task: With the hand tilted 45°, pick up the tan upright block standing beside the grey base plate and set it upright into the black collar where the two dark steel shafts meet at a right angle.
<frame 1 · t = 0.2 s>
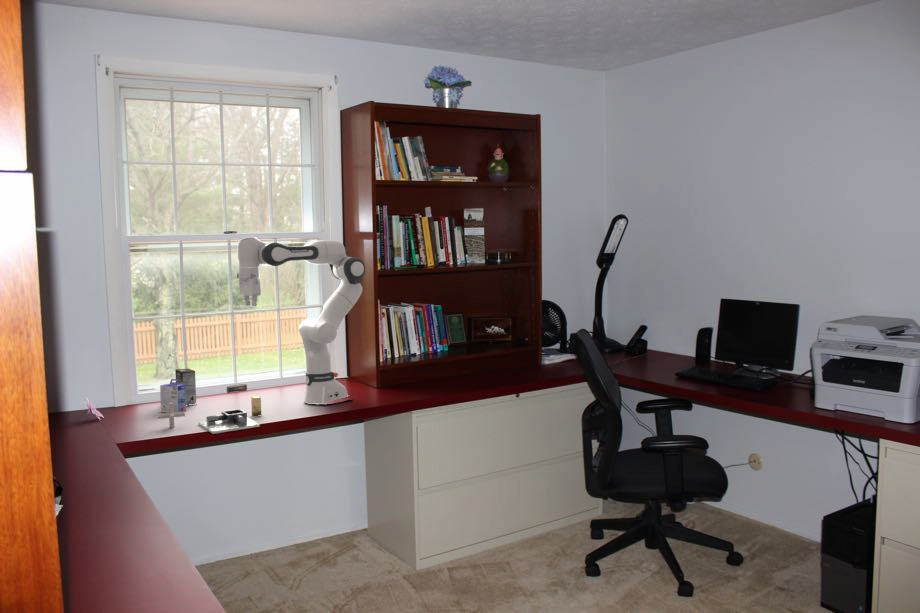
hand: (251, 305, 323), 47 cm above the table, tool pointing down, fingers open, 8 cm apart
tan upright block: (256, 415, 320), on the table
ink cartridge box: (173, 412, 329), on the table
pipe connector: (171, 427, 300), on the table
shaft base: (234, 422, 307), on the table
coffee box: (186, 404, 344), on the table
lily: (93, 421, 314), on the table
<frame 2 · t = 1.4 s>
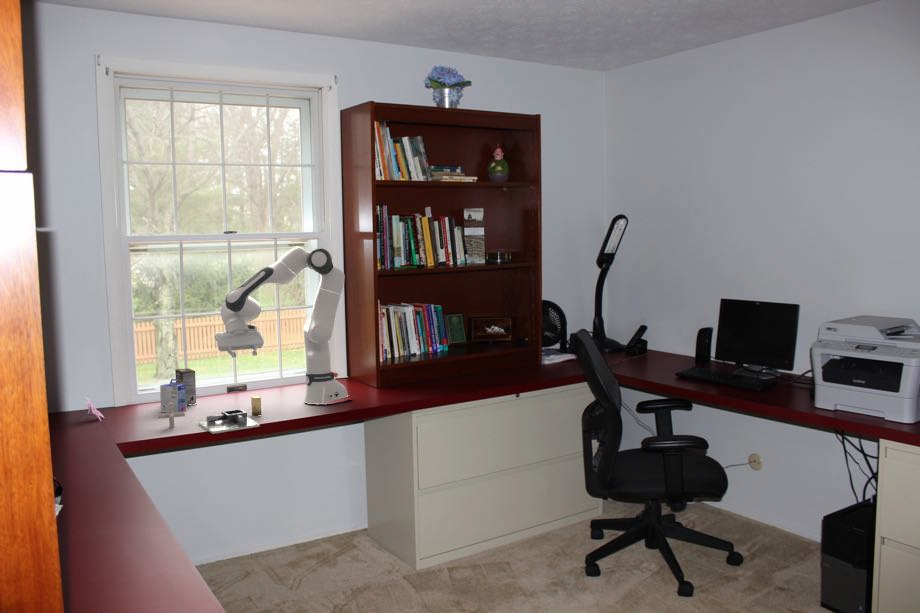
hand: (244, 355, 328), 25 cm above the table, tool tilted 45°, fingers open, 8 cm apart
nothing on the table moved.
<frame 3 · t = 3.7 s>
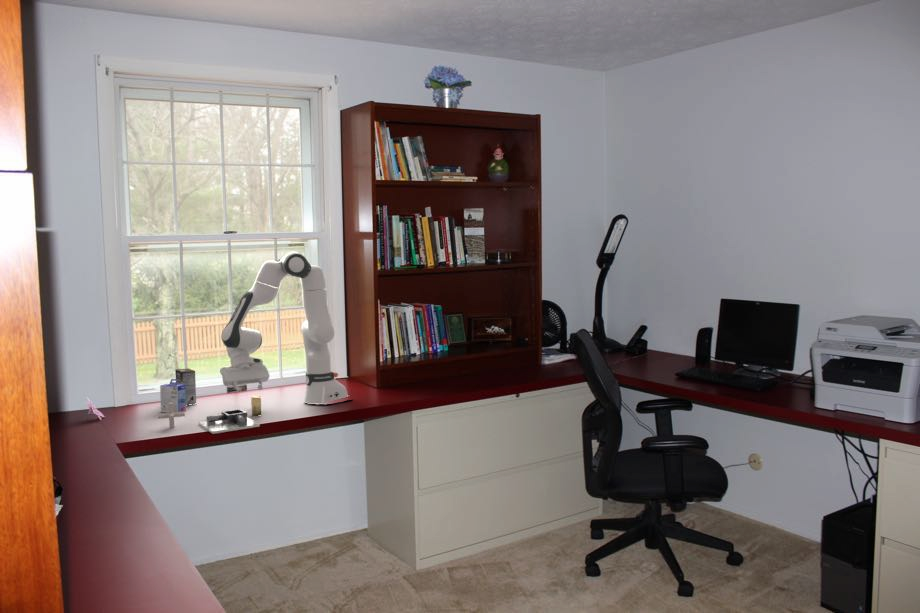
hand: (250, 390, 324), 10 cm above the table, tool tilted 45°, fingers open, 8 cm apart
nothing on the table moved.
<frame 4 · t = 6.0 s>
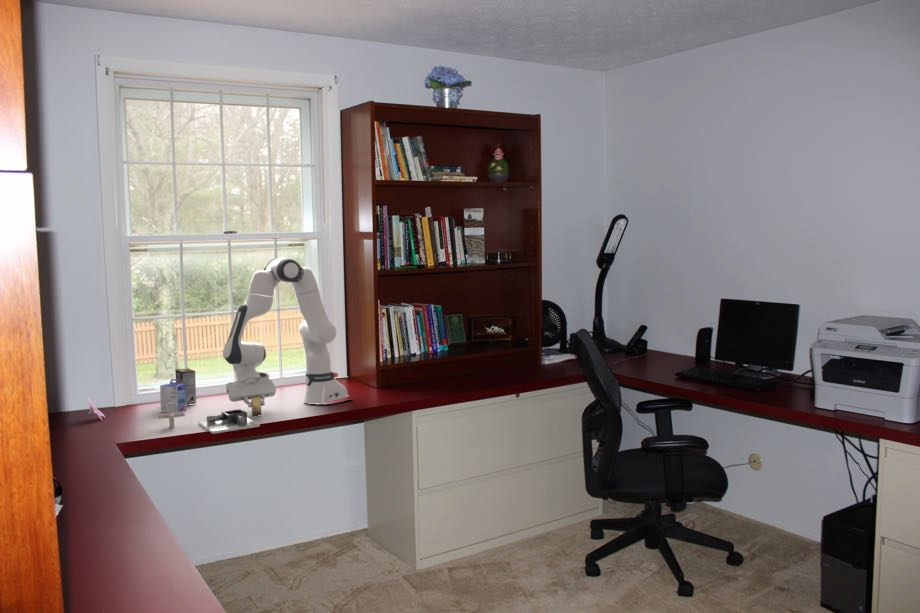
hand: (256, 405, 319), 4 cm above the table, tool tilted 45°, fingers closed on tan upright block, 4 cm apart
tan upright block: (256, 415, 320), on the table, touching gripper
everything else where it was.
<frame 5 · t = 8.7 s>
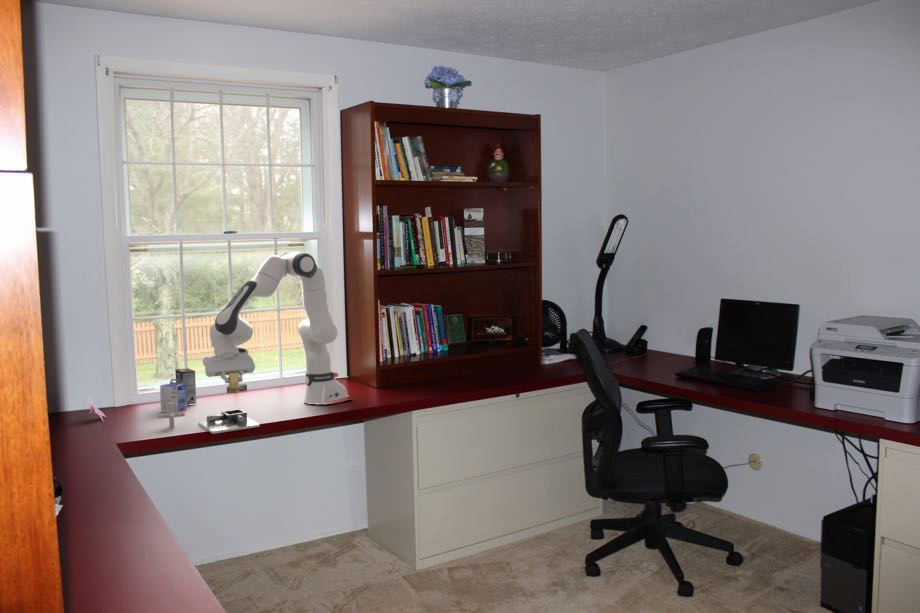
hand: (234, 381, 306), 17 cm above the table, tool tilted 45°, fingers closed on tan upright block, 4 cm apart
tan upright block: (234, 391, 307), point 13 cm above the table, touching gripper
when the fingers open (7 cm above the table, at t = 11.5 s): tan upright block drops 1 cm, resting on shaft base.
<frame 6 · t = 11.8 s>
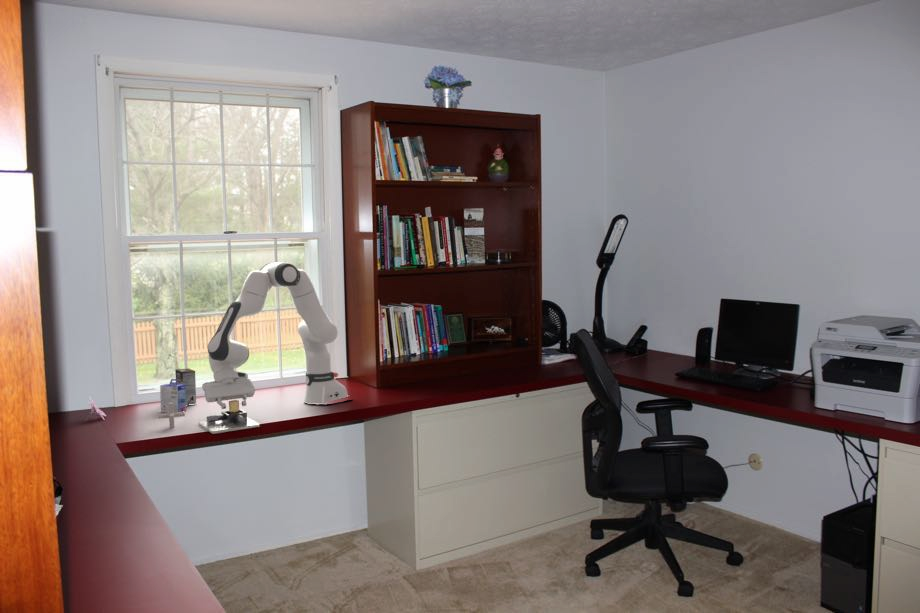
hand: (234, 406, 306), 7 cm above the table, tool tilted 45°, fingers open, 7 cm apart
tan upright block: (234, 420, 307), point 1 cm above the table, touching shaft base
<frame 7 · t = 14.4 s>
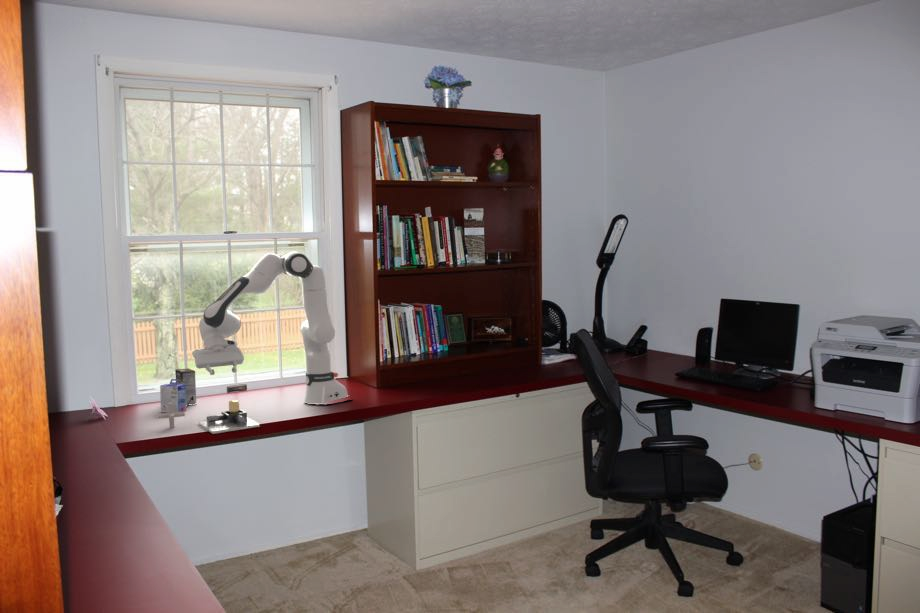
hand: (223, 372, 315), 19 cm above the table, tool tilted 45°, fingers open, 8 cm apart
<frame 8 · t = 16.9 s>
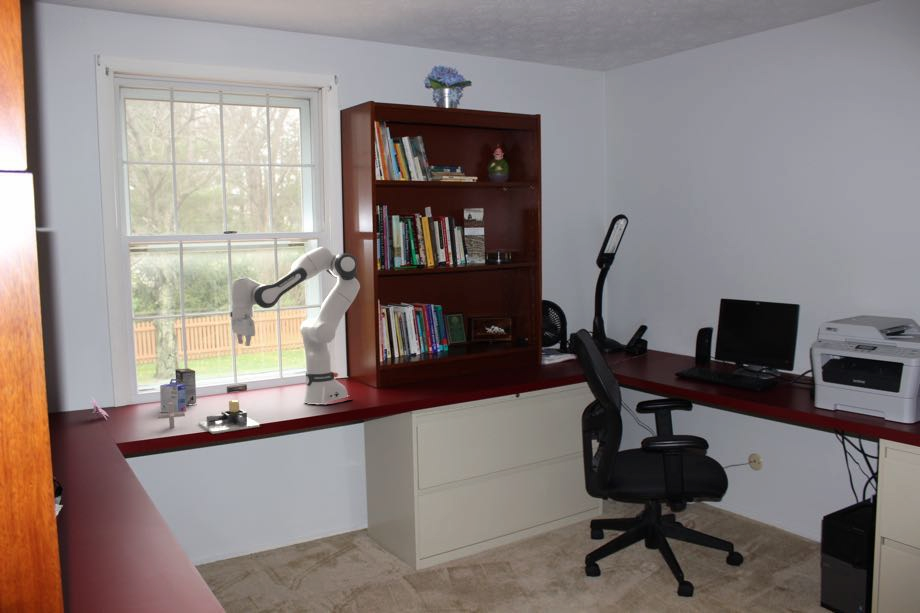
hand: (244, 344, 331), 29 cm above the table, tool pointing down, fingers open, 8 cm apart
at the end: tan upright block 0.1 cm off-centre on the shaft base, point 1.0 cm above the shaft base's base; tan upright block tilted 0°; the gripper is holding nothing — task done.
